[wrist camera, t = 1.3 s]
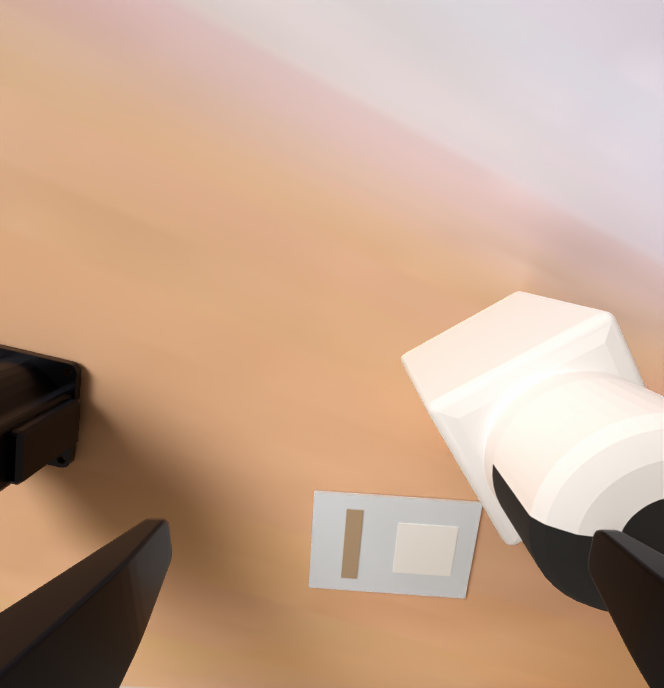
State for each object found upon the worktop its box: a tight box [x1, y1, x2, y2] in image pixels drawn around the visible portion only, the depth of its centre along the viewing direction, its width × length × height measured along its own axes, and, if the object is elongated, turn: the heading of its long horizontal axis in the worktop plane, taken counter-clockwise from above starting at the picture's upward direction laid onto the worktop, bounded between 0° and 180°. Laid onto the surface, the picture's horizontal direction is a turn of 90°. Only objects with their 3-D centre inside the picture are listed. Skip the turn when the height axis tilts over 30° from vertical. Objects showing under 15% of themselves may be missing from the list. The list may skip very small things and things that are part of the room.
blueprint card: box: [309, 490, 482, 599], centre depth 23 cm, size 10×7×1 cm
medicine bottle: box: [401, 291, 664, 612], centre depth 15 cm, size 7×7×12 cm
